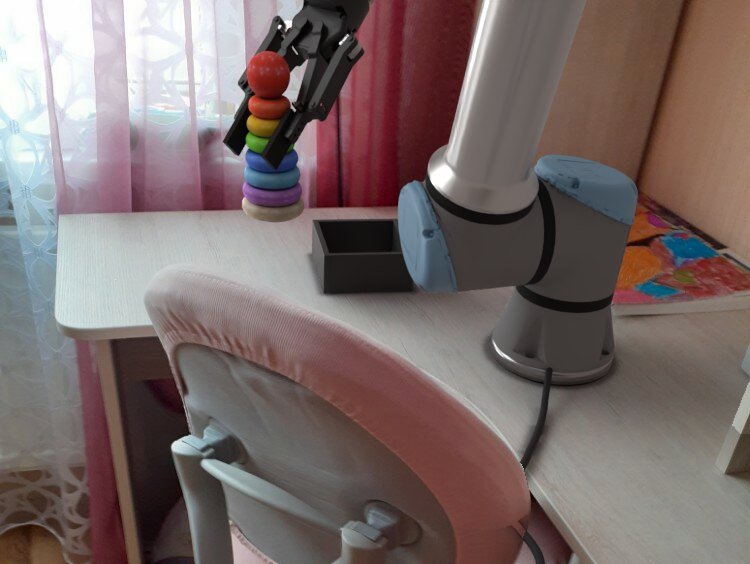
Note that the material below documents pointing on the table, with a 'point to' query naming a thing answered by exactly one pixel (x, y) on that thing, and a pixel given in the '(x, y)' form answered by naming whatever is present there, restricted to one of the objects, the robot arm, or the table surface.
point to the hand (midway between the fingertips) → (249, 155)
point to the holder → (359, 256)
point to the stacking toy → (263, 184)
